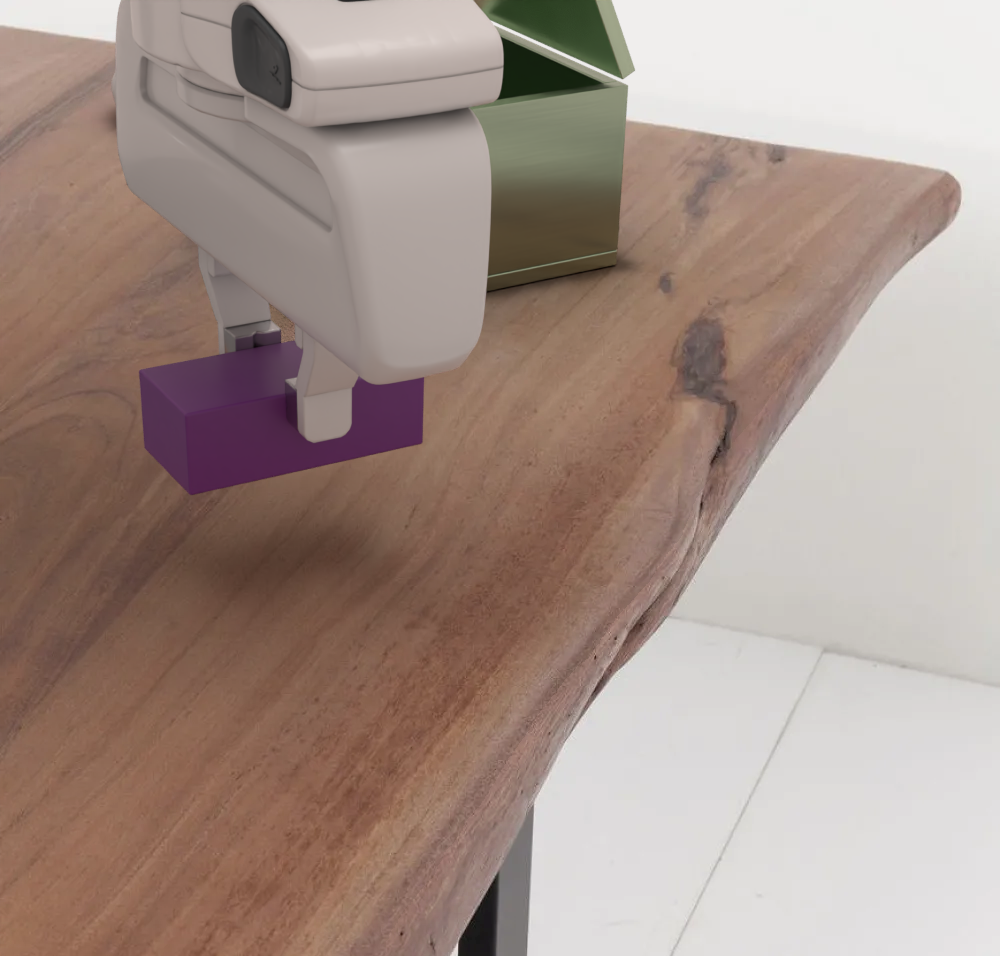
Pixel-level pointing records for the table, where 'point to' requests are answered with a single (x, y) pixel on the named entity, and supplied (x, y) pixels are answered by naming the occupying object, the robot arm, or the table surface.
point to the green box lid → (568, 29)
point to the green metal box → (552, 166)
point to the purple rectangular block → (260, 419)
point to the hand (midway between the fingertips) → (284, 401)
